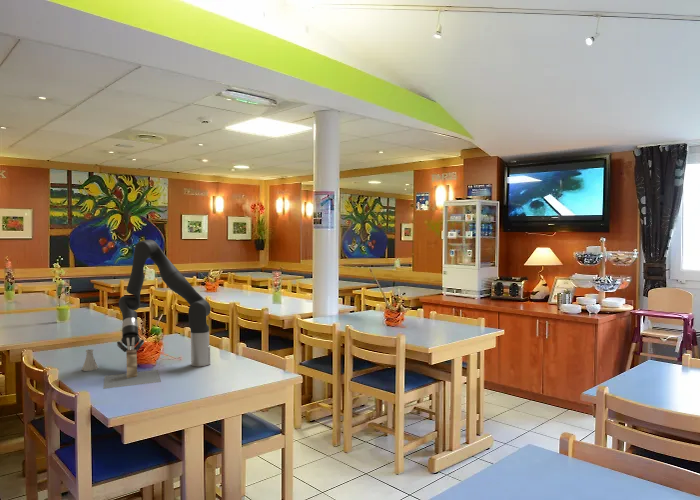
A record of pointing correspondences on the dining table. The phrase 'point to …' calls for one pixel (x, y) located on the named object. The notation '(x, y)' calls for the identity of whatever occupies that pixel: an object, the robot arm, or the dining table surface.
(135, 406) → the dining table surface
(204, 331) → the robot arm
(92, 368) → the flask
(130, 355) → the maple block
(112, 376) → the rubber mat
